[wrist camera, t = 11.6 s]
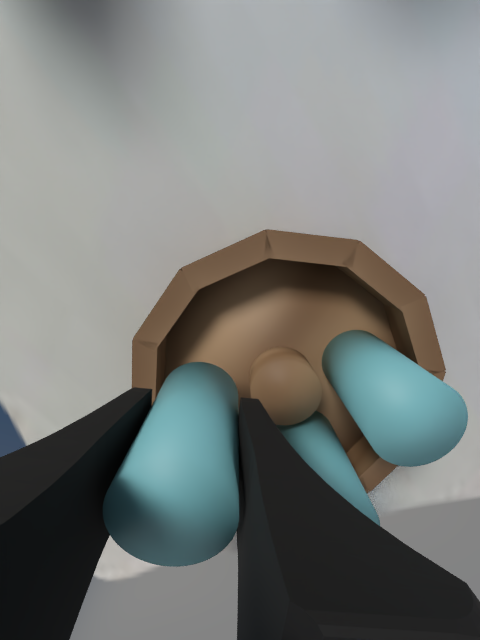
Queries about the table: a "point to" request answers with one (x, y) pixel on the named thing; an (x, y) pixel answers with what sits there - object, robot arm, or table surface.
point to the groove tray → (286, 326)
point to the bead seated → (394, 399)
